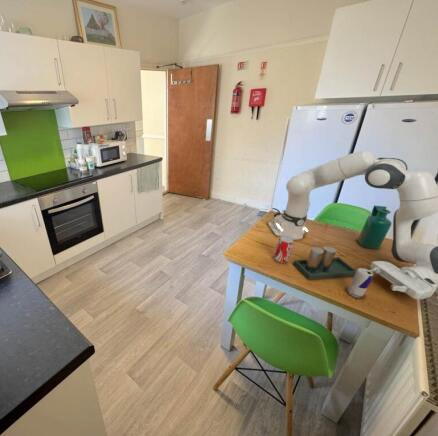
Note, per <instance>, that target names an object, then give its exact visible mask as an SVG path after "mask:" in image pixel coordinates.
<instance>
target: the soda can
mask: <svg viewBox="0 0 438 436" xmlns="http://www.w3.org/2000/svg"><path fill="white" fill-rule="evenodd" d="M294 245H295V240H293V239H292V238H291V237H288V236H279V238H278V240H277V243H276V247H275V251H274V254H273V259H274V261H276V262H278V263H280V264H287V263H288V262H289V261H290V258H291V255H292V253H293V252H292V251H293V249H294Z"/></svg>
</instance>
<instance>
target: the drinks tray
mask: <svg viewBox="0 0 438 436" xmlns="http://www.w3.org/2000/svg"><path fill="white" fill-rule="evenodd" d="M307 259H308V258H307ZM307 259H306V258H305V259H296V260H294V261H293V266H294V267H295V268H296V269H298V271H299V272H300V273H301V274H302V275H303V276H304V277H305V278H306V279H307V280H308V281H311V280H324V279H335V278H347V277H348V278H349V277H354V275H355V273H356V271H357V270H356V269H355V268H354V267H352V265H350V264H349V263H347V262H346V261H344V260H343V259H342V258H340V257H339V256H336V257H335V256H334V258H333V261H332V263H331V265H330V268H329V270H328V272H326V273H325V272H320V271H318V270H317V272H316V273H309V272H308V271H307V270H306V269H305V265H306V262H307Z"/></svg>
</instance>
